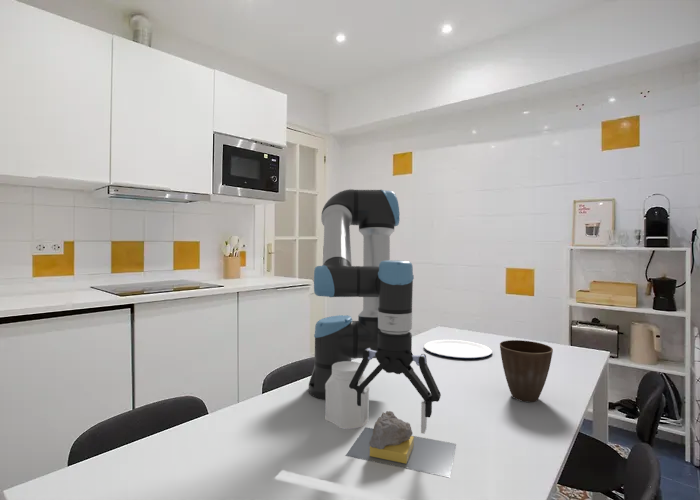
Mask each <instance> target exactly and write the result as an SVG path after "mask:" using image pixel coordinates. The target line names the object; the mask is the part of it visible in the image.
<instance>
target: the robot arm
mask: <svg viewBox="0 0 700 500" xmlns="http://www.w3.org/2000/svg"><path fill="white" fill-rule="evenodd" d="M321 223H322V225H323V229H324V230H323V246H322V247H323V252H322V265H316V266H315V268H314V270H313V271H314V272H313V292H314V295H315V296H316V297H327V298H328V297H329V298H357V297H358V298H363V299H362V301H363V302H362V303H363V305H362V310H361V312H360V313H358V316H357V317H358V320H353V318H352V316H350V315H347V314H346V315H340V314H339V315H332V316H328V317H324V318H323V317H322V318H321V319H319V320H318V321H316V323H315V327H314V334H313V337H314V364H313V365H314V366H313V370H312V373H311V376H310V379H309V382H308V394H310V395H311V396H312V397H315V398H316V399H317V398H318V399H322V400H326V390H325V384H326V382H327V381H328V379H329V378H330V376H331V375H332V365H333V364H334V363H337V362H342V361H352V359H362V360H361V362H359V363H360V365H359V367H358V369H357V371H356V373H355V375H354V377H353V379H352V381H351V383H350V384H349V387H350V388H351V389H355V390H356V391H357V405H358V406H361V422H362V423H364V422H365V420H366V419H367V413H368V390H364V388H365V387H366V386H367V385H368V384H369V385H370V383H371V382H372V381H373V380H374V379H375V378H376V377H377V376H378V375H379V373H381V372H382V371H385V373H388V374H391V373H394V374H396V375H401V374H403V375H404V377H405V378H407V379H408V381H409V382H410V384H412V386H413V387H414V388H415V390H416V391H417V393H418V394H419V396H421V398H422V400H421V409H420V411H421V413H420V415H421V416H420V417H421V418H420V434H425V433H426V430H427V427H428V425H427V423H428V422H427V420H428V418H431V416H432V413H433V411H432V410H433V403H434V402H439V401H440V399H441V396H442V395H441V392H440V389H439V387H438V385H437V383H436V381H435V379H434V376H433V374H432V373H431V370H430V368H429V366H428V362H427V355H426V354H425V353H421V354H413V351H412V350H413V349H412V348H413V347H412V343H413V342H412V339H413V336H412V335H413V333H412V331H411V330H412V329H413V291H414V290H413V288H414V287H413V286H414V285H413V284H414V283H413V282H414V279H415V278H414V273H413V263H412V262H410V260H409V261H408V260H398V259H397V260H396V259H395V260H393V259H392V260H391V258H390V257H391V253H390V252H391V250H390V249H391V248H390V247H391V246H390V245H391V241H390V240H391V239H390V237H391V235H392V234H393V233H394V232H395V227H398V226H399V224H400V206H399V200H398V197H397V195H396V193H395V192H394V191H393V190H384V189H351V188H350V189H345V190H341V191H339V192H337V193H336V194H334V195H333V196H331V197H330V198H329V199H328V200H327V201H326V202H325V204H324V206H323V207H322V209H321ZM350 226H358V232H359V233H360V234H361V235H362V237H363V241H362V242H363V247H362V248H363V258H362V259H363V265H362V266H361V265H358V266H357V265H356V266H355V265H352V253H351V251H352V250H351V234H350V233H351V231H350ZM372 359H376V360H377V362H378V365H377V366H376V367H375V368H374V369H373V371H372V372H371V373H370V374H369V375H368V376H367V377H365V378H366V379H365V380H364V381H363V382H362V383H361V384H360V383H358V382H359V380H360V378H361V376H362V374H363V375H364V372H365V370H366V369H367V366H368V365H369V363H370V361H371V360H372ZM413 362H415V364H416V366H417V367H418V366H419V370H420V372H421V374H422V376H423V379H424V382H425V383H426V385H427V387H426V386H425V384H424V382H423V381H422V380H421V379H420V377H419V376H418V375H417V373H416V372H415V370H414V368H413V367H412V365H411V364H412V363H413Z"/></svg>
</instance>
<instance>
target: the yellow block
mask: <svg viewBox="0 0 700 500" xmlns="http://www.w3.org/2000/svg"><path fill="white" fill-rule="evenodd" d="M413 436H414V435H411V437H410V439H409V440H406V441H404V442H402V443H401V444H399V445H395V446H393V445H389V446H385V447H384V449H378V448H375V447H374V448H372V447H371V446H370V456H372V457H377V458H381V459H386V460H391V461H396V462H401V463H405V464H407V461H408V459H409V456H410V454H411V451H412V449H413V446H414V437H413Z"/></svg>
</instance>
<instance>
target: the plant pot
mask: <svg viewBox="0 0 700 500" xmlns="http://www.w3.org/2000/svg"><path fill="white" fill-rule="evenodd" d="M499 350H500V356H501V363H502V368H503V372H504V377H505V380H506V383H507V386H508V388H509V392H510V394H511V397H512V398H513V399H515V400H517V401H520V402H524V403H534V402H537V401H538V400H539V398H540V395H541V394H542V392H543V390H544V386H545V384H546V381H547V377H548V375H549V371H550V367H551V362H552V358H553V353H554V351H553V347H552V346H550V345H548V344H543V343H541V342H536V341H530V340H520V339H519V340H518V339H517V340H516V339H515V340H514V339H512V340H503V341H501V342H500V343H499Z"/></svg>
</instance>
